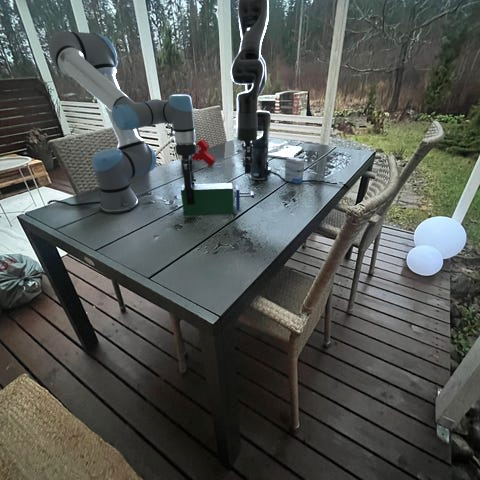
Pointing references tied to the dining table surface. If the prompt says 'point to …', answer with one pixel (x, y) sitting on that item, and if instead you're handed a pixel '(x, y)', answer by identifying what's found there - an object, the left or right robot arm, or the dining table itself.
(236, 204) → the drawer
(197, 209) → the cabinet
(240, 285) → the dining table surface
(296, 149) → the relief map
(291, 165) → the ink box
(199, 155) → the toy gun
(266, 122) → the right robot arm
